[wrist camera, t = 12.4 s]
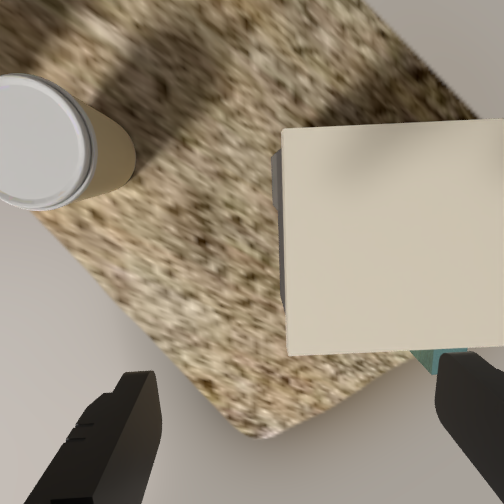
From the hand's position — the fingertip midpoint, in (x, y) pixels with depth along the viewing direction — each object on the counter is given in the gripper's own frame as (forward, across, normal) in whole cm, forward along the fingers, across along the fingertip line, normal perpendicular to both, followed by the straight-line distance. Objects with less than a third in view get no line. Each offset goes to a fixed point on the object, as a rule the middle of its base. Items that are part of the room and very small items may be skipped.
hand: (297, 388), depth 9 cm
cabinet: (+27, -10, 0) cm, 29 cm away
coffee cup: (+28, +16, -8) cm, 33 cm away
